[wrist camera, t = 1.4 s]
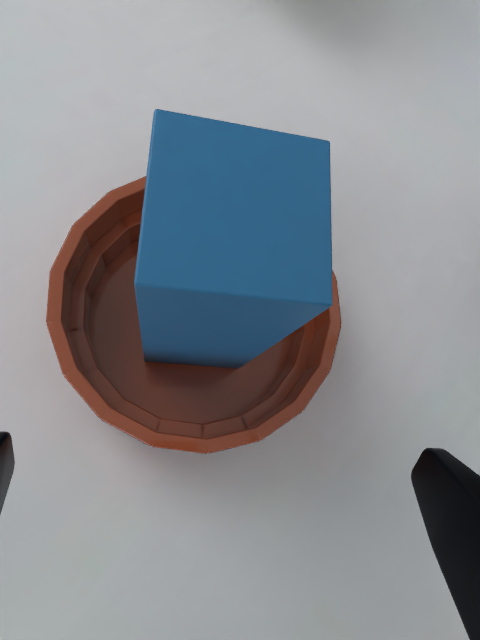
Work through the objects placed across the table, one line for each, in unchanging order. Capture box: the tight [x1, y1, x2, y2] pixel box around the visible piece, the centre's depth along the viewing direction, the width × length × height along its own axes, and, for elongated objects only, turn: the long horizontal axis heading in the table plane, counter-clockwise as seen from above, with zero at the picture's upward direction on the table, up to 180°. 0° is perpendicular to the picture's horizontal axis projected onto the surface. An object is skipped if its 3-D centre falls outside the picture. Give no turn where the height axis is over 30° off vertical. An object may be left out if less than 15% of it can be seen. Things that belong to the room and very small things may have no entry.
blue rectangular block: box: [134, 109, 333, 368], centre depth 16 cm, size 5×5×12 cm
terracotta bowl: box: [46, 176, 341, 454], centre depth 20 cm, size 13×13×4 cm
